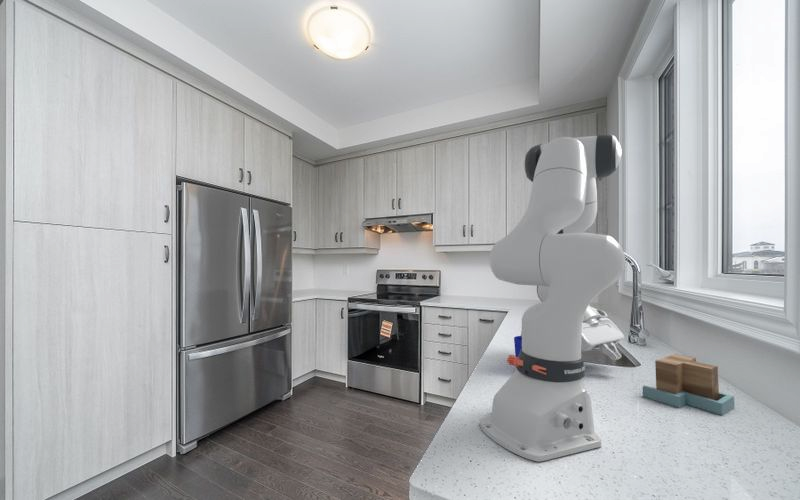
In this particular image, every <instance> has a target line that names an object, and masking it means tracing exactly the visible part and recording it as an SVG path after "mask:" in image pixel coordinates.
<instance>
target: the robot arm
mask: <svg viewBox="0 0 800 500" xmlns="http://www.w3.org/2000/svg"><path fill="white" fill-rule="evenodd" d="M621 160H622V148H621V144H620V142H619V141H618V138H617V137H616V136H615V135H613V134H610V133H609V134H608V133H607V134H606V133H605V134H604V133H601V134H600V133H599V134H597V135H591V136H579V137H578V136H577V137H570V136H562V137H556V138H554V139H552V140H550V141H549V142H547V143H540V144H537V145H534V146H532V147H530V149H529V150H528V151H527V152H526V154H525V159H524V164H523V166H524V168H523V169H524V172H525V175H526V178H527V179H528V180H529V181H531V182H532V184H531V191H530V192H531V193H530V195H529V196H530V197H529V201H528V204H527V207H526V209H525V213H524V214H523V215H522V218H521V219H520V220H519V222H518V223H517V225H516V226H515V227H514V228H513V229H512V230H511V231H509V233H508V234H507V235H506V236H504V237H502V238H501V239H499V240H498V241H496V243H495V244H494V245H493V246H492V248H491V250H490V252H489V258H488V262H489V267H490V270H491V272H492V274H493V276H494V277H495V278H497V280H498V281H503V282H506V283H509V284H514V285H518V286H519V285H520V286H536V295H537V297H538V299H539V300H540V301H541V302H539V303H536V304H534V305H532V306H531V305H530V307H528V308H527V309H526V310H525V311H524V312H523V315H522V316H521V336H522V349H521V350H520V353H519V356H518V357H516V356H515V355H512V354H509V355H508V357H507V360H506V361H507V363H508V365H509V366H514V367H515V371H514V373H513V374H511V376H510V377H509V378H508V379H507V380H506V382H505V383H504V384H503V385H502V386H501V387H500V389H499V390H498V391H497V392H496V393H495V395H494V397H493V400H492V405H491V406H492V407H491V412H490V413H489V414H487V415H485V416H483V417H481V418H480V420H479V426H480V429H481V430H482V432H483V433H484V434H486V435H487V437H489V438H490V439H491V440H492V441H494V442H495V443H496V444H498V445H499V446H501V447H503V448H504V449H506V450H508V451H510V452H511V453H514V454H516V455H518V456H520V457H522V458H523V459H527V460H530V461H535V462H544V461H548V460H552V459H556V458H560V457H564V456H569V455H573V454H576V453H581V452H585V451H589V450H592V449H597V448H600V447H602V440H601V438H600V436H599V435H598V434H597V433H596V432H595V426H594V424H595V423H594V414H593V406H592V397H591V394H590V393H589V391H588V389H587V387H586V385H585V383H584V381H583V378H584V377H585V369H586V366H585V361H584V357H583V356H582V352H588V351H592V350H596V349H598V350H599V351H600V352H601V353H602V354H604V355H606V356H607V357H609V359H610V360H611V361H616V360H617V361H618V360H620V359H621V358H622V354H621V353H620V352H619V351H618V349H617V346H616V345H617V344H619V343H621V341H623V340H624V339H625V335H624V333H623V332H622V331H621V329H619V327H618V326H617V325H616V324H615V323H614V322H613V321H612V320H611V319H609V317H608V314H607V313H606V312H605V311H603V310H600V309H597V308H594V307H592V306H591V305H590V304H591V303H592V301H593V300H594V299H595V298H596V297H597V296H598V295H599V294H600V293H602V292H603V291H605V289H608V288H609V287H611V286H612V285H614V284H616V282H617V281H618V280H619V279H620V277H621V276H622V274H623V272H624V269H625V268H626V267H625V266H626V256H625V252H624V249H623V248H622V246H621V245H620V243H619V242H618V241H617V240H616V239H615V238H614V237H612V236H610V235H607V234H601V233H600V234H599V233H593V232H592V233H591V232H585V231H587V230H589V228H591V226H592V225H593V224H594V223H595V220H596V217H597V215H598V188H597V182H596V179H597V180H598V181H599V182H600V181H603V179H604V178H606V177H609V176H611V175H612V174H614V173H615V172H616V171H617V167H618V166H619V165H620V162H621Z"/></svg>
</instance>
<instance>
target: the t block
mask: <svg viewBox="0 0 800 500" xmlns="http://www.w3.org/2000/svg"><path fill="white" fill-rule="evenodd" d="M654 362H655V387H656V388H655V389H659V390H662V391H665V392H669V393H672V394H677V393H679V392H681V391H684V392H688V393H691V394H695V395H698V396H702V397H705V398H709V399H712V400H716V401H718V400H719V392H720V390H719V387H720V386H719V371H718V370H719V367H718V366H717V365H714V364H710V363H705V362H699V361H697V358H696V357H692V356H688V355H683V354H677V353H674V354H671V355H669V356H666V357H662V358H660V359H655V360H654Z"/></svg>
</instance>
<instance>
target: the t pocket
mask: <svg viewBox="0 0 800 500" xmlns="http://www.w3.org/2000/svg"><path fill="white" fill-rule="evenodd" d="M642 396H643V397H644V398H648V399H649V400H654V401H657V402H660V403H663V404H665V405H669V406H672V407H675V408H678V409H680V408H682V407H684V406H685V405H687V406H692V407H695V408H698V409H699V410H700V409H701V410H703V411H707V412H710V413H714V414H717V415H719V416H724V415H725V414H727V413H728V412H730V411H731V410H733V409H734V408H735V396H734V395H731V394H727V393H723V392H720V391H719V400H718V401H716V400H712V399H709V398H705V397H702V396H698V395H695V394H691V393H688V392H684V391H681V392H679V393H677V394H672V393H669V392H665V391H662V390H659V389H656V388H654V387H651V386H649V385H642Z"/></svg>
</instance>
